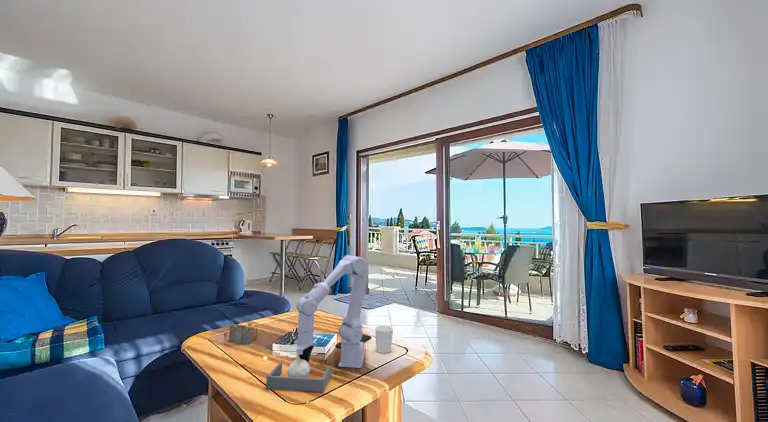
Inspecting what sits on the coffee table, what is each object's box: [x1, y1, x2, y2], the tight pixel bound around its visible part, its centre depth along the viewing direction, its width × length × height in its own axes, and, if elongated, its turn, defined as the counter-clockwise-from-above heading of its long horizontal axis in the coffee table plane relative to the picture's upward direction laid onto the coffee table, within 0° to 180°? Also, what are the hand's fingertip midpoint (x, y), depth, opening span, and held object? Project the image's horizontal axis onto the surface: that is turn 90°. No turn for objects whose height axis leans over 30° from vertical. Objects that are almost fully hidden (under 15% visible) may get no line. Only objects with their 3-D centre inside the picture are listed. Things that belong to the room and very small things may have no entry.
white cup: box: [374, 325, 394, 354], centre depth 153 cm, size 8×8×10 cm
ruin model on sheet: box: [228, 321, 254, 346], centre depth 159 cm, size 11×3×10 cm, turn 71°
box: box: [265, 362, 332, 393], centre depth 121 cm, size 20×12×4 cm, turn 86°
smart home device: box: [334, 333, 372, 350], centre depth 161 cm, size 8×2×20 cm
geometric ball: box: [287, 358, 311, 378], centre depth 121 cm, size 8×8×8 cm
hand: (304, 366), depth 126 cm, fingers closed
